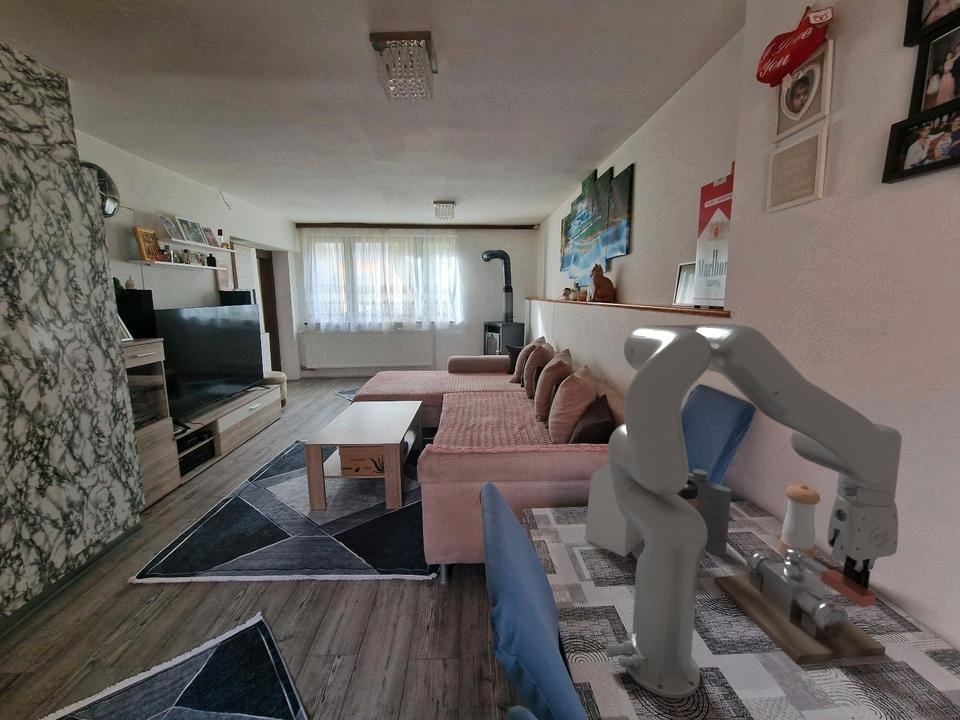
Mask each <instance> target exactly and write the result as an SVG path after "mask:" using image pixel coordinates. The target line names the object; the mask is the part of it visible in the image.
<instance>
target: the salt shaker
mask: <svg viewBox="0 0 960 720" xmlns="http://www.w3.org/2000/svg"><path fill="white" fill-rule="evenodd" d="M785 494H786V497H787V498H788V500H787V501H788V502H787V509H786V510H787V512H786V515H785V518H784V521H783V524H782V532H781V533H782V534H781V536H780V538H779V545H778V551H779V553H780V555H782V556H783V557H784V558H786V549H787V547H796V548H799V549H802V550H803V551H805V552H806V556H808V557H809V558H811V559H813V560H814V561H815V555H816V554H815V553H816V546H815V539H816V526H815V516H816V515H815V514H816V512H815V511H816V506H817V505H818V504H819V503H820V502H821V496H820V494H819V492H818V491H817V490H816V489H813V488H812V487H808V485H807V484H804V483H801V484H792V485H789V486H788V487H786V489H785Z"/></svg>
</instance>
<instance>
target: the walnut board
mask: <svg viewBox="0 0 960 720" xmlns="http://www.w3.org/2000/svg"><path fill="white" fill-rule="evenodd" d="M750 574H751V573H750ZM750 574H736V575H735V574H733V575H722V576H714V577H713V584H714V585H715V586H716V587H717V588H718V589H719V590H721V592H722V593H723V594H724V595H725V596H726V597H728V599H730V600H731V602H733V604H735V605H736V606H737V607H738V609H740V610H741V611H742V612H743V613H744V614H745V615H746V616H747V617H748V618H749V619H750V620H751V621H752V622H753V623H754V624H755V625H756V626H757V627H758V628H759V629H761V631H763V632H764V634H766V636H767V637H769V638H770V640H772V641H773V642H774V643H775V644H776V645H777V646H778V647H779V648H780V649H781V650H782V651H783V652H784V653H785V654H786V655H787V656H788V657H789V658H790V659H791V660H792V661H793V662H794V663H795V664H805V663H816V662H825V660H827V661H834V660H833V659H837V660H843V659H842V658H847V659H854V658H853V657H857V658H866V657H873V656H875V657H876V656H885V654H886V646H885V645H884V644H882V643H881V642H879V641H878V640H877V639H875V638H874V637H872V635H870V634H868V632H866V631H864V630H863V629H862V628H861V627H859V626H858V625H856V624H855V623H854V622H853V621H851V620H850V619H848V621H847V624H846V626H845V627H844V629H843V630H842V631H840V632H839V636H838V637H837V638H826V639H816V640H815V639H813V638H812V637H811V636H810V635H809V634H808V633H806V632H805V631H804V630H803V629H802V628H801V621H795V622H789V621H788V620H786V619H785V618H784V617H783V616H782V615H781V614H780V613H778V612H777V611H776V610H775V609H774V608H773V607H772V606H770V605H769V604H768V603H767V602H766V601H765V600H764V599H762V598H761V596H762V592H759V591H758V590H757V589H755V588H754V587H753V586H752V585H751V584H750Z"/></svg>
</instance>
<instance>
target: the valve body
mask: <svg viewBox="0 0 960 720" xmlns="http://www.w3.org/2000/svg"><path fill="white" fill-rule="evenodd" d="M746 568H747V569H748V570H749V571H750V584H751V585H752V586H753V587H754V588H755V589H757V590H758V591H759V592H762V596H761V598H762V599H764V600H765V601H766V602H767V603H768V604H769V605H770V606H772V607H773V608H774V609H775V610H776V611H777V612H778V613H780V614H781V615H782V616H783V617H784V618H785V619H786V620H788V621H789V622H795V621H801V628H802V629H803V630H804V631H805V632H806V633H808V634H809V635H810V636H811V637H812V638H813V639H815V640H816V639H826V638H837V637H838V636H839V632H840V631H842V630H843V629H844V627H845V626H846V624H847V621H848V620H849V615H848V613H847V612H848V611H846V609H844V608H843V607H842V606H840V605H839V604H838V603H837V602H835V601H834V600H832V599H829V598H825V597H824V595H825V588H826V584H825V583H823V582H822V581H820V580H819V579H817V578H816V577H815V576H814V575H812V574H810V573H809V572H808V571H806V570H807V568H806V567H804V566H803V565H801V564H800V565H797V564H794V563H792V562H790V560H788V559H787V558H786V557H784V559H783V563H777V561H776V559H775V557H774V556H771V555H770V554H769V553H767V551H765V550H761V549H758V550H755V551H753V552H751V553H750V554H749V556H747V559H746Z"/></svg>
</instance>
